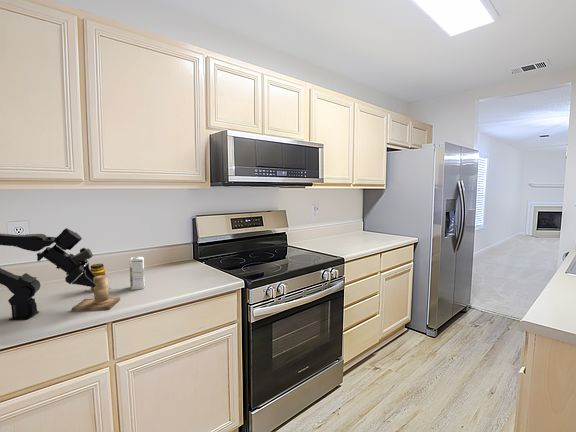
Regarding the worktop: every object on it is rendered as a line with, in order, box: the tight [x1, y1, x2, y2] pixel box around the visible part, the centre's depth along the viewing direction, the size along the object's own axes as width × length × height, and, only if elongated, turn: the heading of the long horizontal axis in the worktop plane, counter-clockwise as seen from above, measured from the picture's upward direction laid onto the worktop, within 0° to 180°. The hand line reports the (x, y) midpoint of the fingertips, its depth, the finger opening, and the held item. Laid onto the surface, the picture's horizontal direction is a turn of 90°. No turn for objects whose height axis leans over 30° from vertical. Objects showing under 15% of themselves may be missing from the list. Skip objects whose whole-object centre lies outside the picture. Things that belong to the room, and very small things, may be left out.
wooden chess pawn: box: [93, 274, 111, 305], centre depth 129 cm, size 6×6×10 cm
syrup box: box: [129, 256, 146, 291], centre depth 150 cm, size 6×6×14 cm
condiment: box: [85, 263, 110, 293], centre depth 148 cm, size 7×8×12 cm
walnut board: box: [71, 297, 121, 312], centre depth 129 cm, size 14×10×1 cm
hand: (95, 282), depth 127 cm, fingers open, 9 cm apart
